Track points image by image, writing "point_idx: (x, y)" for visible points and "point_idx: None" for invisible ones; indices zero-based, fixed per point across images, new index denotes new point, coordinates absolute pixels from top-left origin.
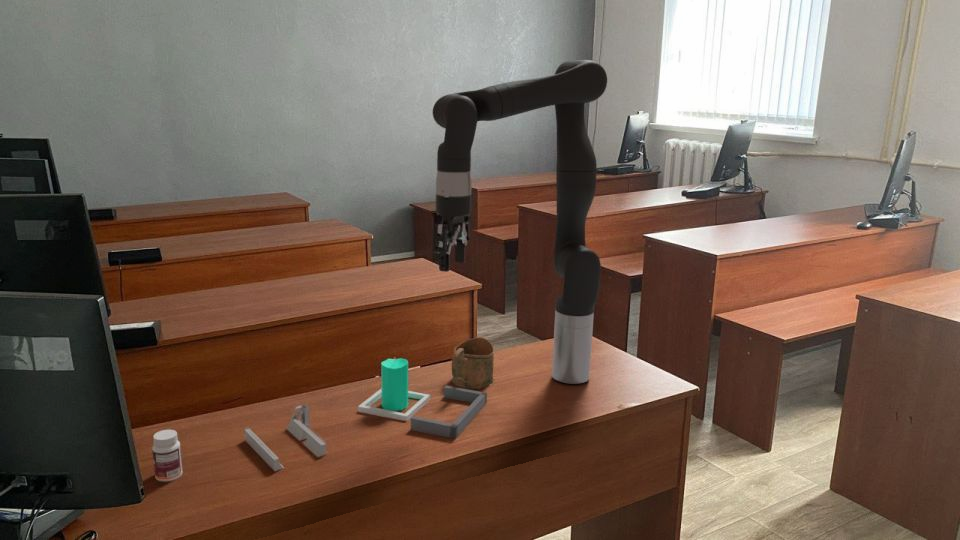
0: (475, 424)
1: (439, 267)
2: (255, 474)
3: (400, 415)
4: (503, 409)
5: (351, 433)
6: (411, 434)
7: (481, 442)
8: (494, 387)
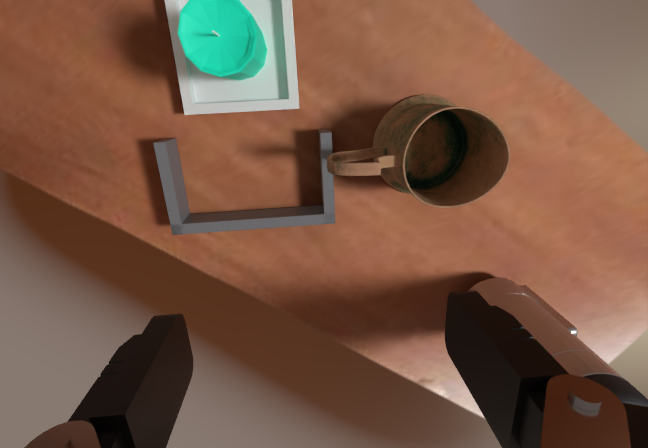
0: None
1: (149, 326)
2: None
3: (182, 99)
4: (337, 241)
5: (91, 25)
6: None
7: (208, 258)
8: None
